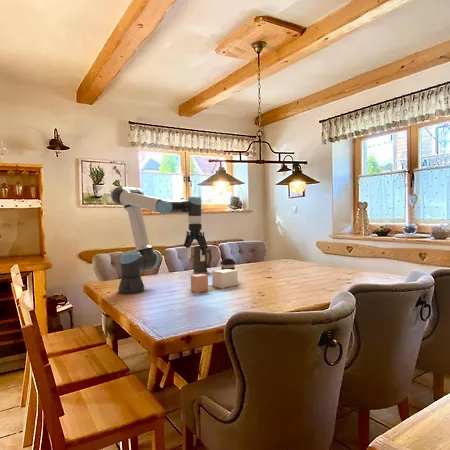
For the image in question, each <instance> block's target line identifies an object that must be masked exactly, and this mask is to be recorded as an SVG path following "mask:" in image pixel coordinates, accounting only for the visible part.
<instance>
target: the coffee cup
mask: <svg viewBox="0 0 450 450" xmlns="http://www.w3.org/2000/svg"><path fill="white" fill-rule="evenodd" d="M220 265H221V269H220V270H224V269H232V270H236V267H235V266H236V261H235V260H234V259H233V258H222V261H220Z"/></svg>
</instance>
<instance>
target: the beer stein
mask: <svg viewBox="0 0 450 450" xmlns="http://www.w3.org/2000/svg"><path fill="white" fill-rule="evenodd" d="M200 249H201V248H200V246H199V245H196V246H193V273H197V274H201V273H202V274H204V273H207V272H208V269H211V268H212V267H211V262H212V259H213V257H212V252H211V249H210V248H209V249H208V248H207V249H205V261H200ZM207 253H208V254H207ZM203 272H204V273H203Z"/></svg>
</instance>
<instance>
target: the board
mask: <svg viewBox="0 0 450 450" xmlns="http://www.w3.org/2000/svg"><path fill="white" fill-rule="evenodd" d="M238 286H240V287H241V285H240V284H238V285H234V286H229V287H225V288H219V287H215V286H212V284H208V290H206V291H202V292H197V293H198V294H206V293H210V292H217V291H220V290H224V289H229V288H230V289H231V288H235V287H238ZM187 291H191V288H189V289H187ZM191 292H192V291H191Z"/></svg>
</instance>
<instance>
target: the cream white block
mask: <svg viewBox="0 0 450 450" xmlns="http://www.w3.org/2000/svg"><path fill="white" fill-rule="evenodd" d="M211 278H212V279H211V280H212V281H211V283H212V284H211V285H212V286H215V287H219V288H225V287H229V286H234V285H239V283H238V279H239V278H238V270H237V269H235V270H232V269H224V270H222V269H220V270H219V269H218V270H212V271H211Z"/></svg>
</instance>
